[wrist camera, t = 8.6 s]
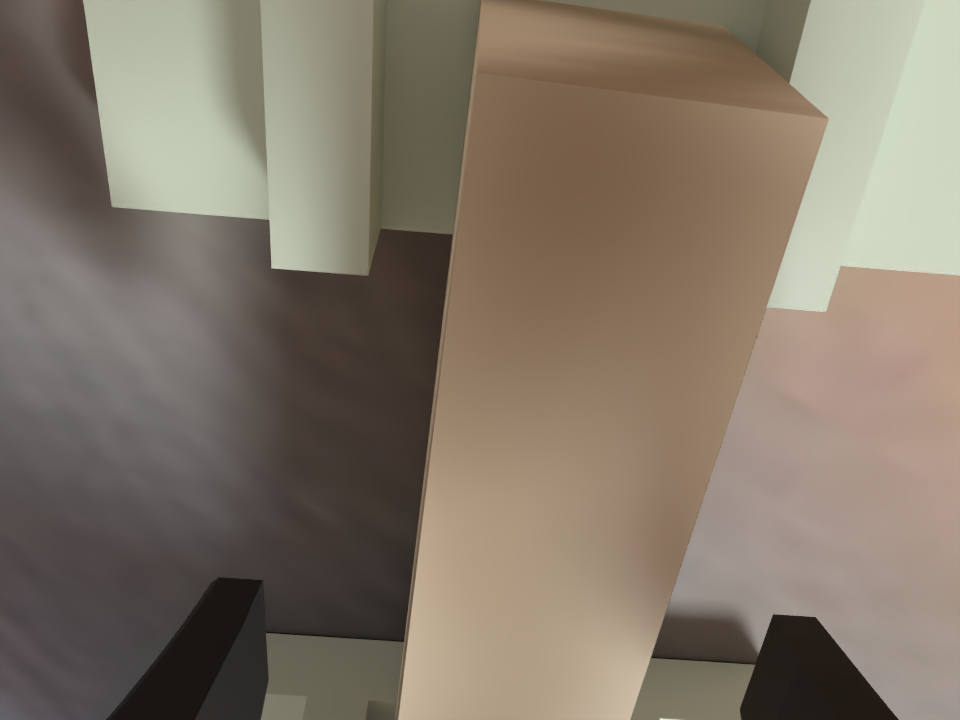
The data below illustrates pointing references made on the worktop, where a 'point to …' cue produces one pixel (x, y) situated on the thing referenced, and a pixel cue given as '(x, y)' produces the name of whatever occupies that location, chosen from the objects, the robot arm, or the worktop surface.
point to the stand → (436, 171)
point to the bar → (590, 347)
